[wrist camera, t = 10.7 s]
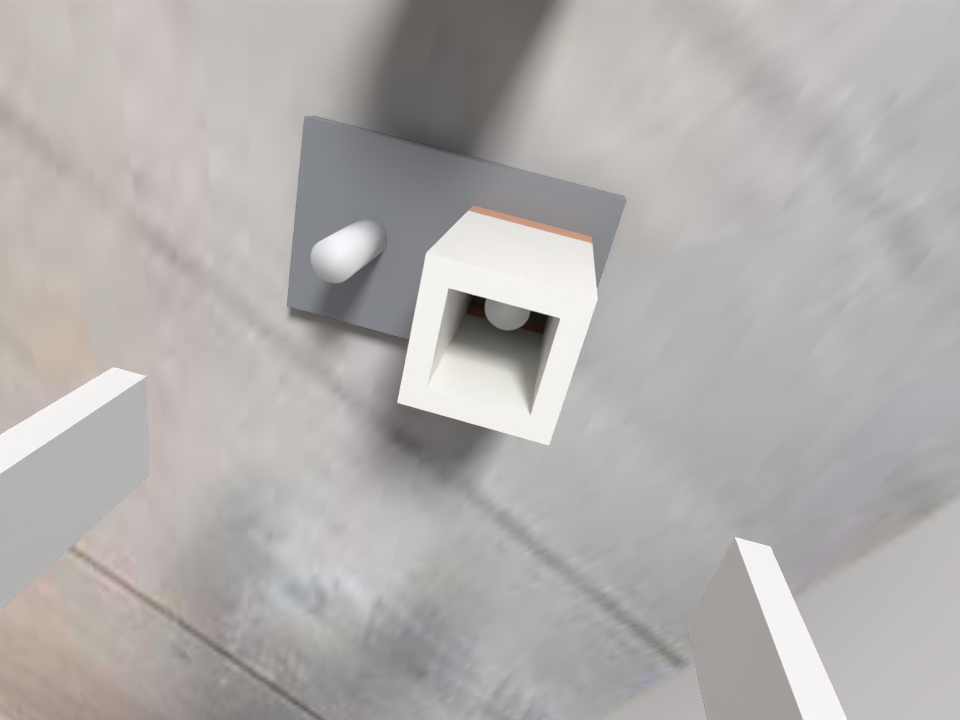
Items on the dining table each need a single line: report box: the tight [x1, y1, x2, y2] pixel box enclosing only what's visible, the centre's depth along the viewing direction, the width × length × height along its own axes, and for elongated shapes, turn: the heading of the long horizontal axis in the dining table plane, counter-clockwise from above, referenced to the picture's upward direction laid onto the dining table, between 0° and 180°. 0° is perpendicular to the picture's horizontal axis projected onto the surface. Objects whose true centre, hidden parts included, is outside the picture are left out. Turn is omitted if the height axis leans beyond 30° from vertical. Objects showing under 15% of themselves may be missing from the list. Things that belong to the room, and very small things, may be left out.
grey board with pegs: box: [287, 116, 626, 340], centre depth 29 cm, size 16×10×6 cm, turn 77°
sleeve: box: [397, 206, 598, 445], centre depth 26 cm, size 6×6×10 cm
